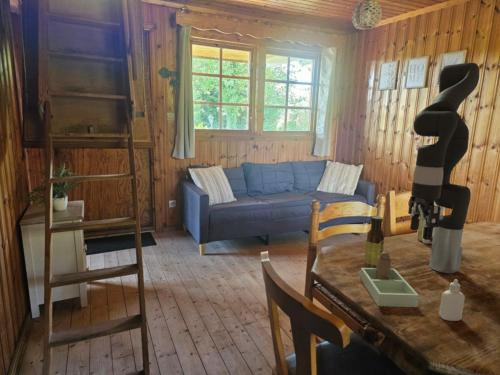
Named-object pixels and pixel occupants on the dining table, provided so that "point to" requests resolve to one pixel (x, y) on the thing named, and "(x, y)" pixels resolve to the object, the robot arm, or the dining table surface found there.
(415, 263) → the dining table surface
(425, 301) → the dining table surface
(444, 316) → the eye dropper bottle
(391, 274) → the caddy
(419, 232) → the juice carton
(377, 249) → the sauce bottle
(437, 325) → the dining table surface
